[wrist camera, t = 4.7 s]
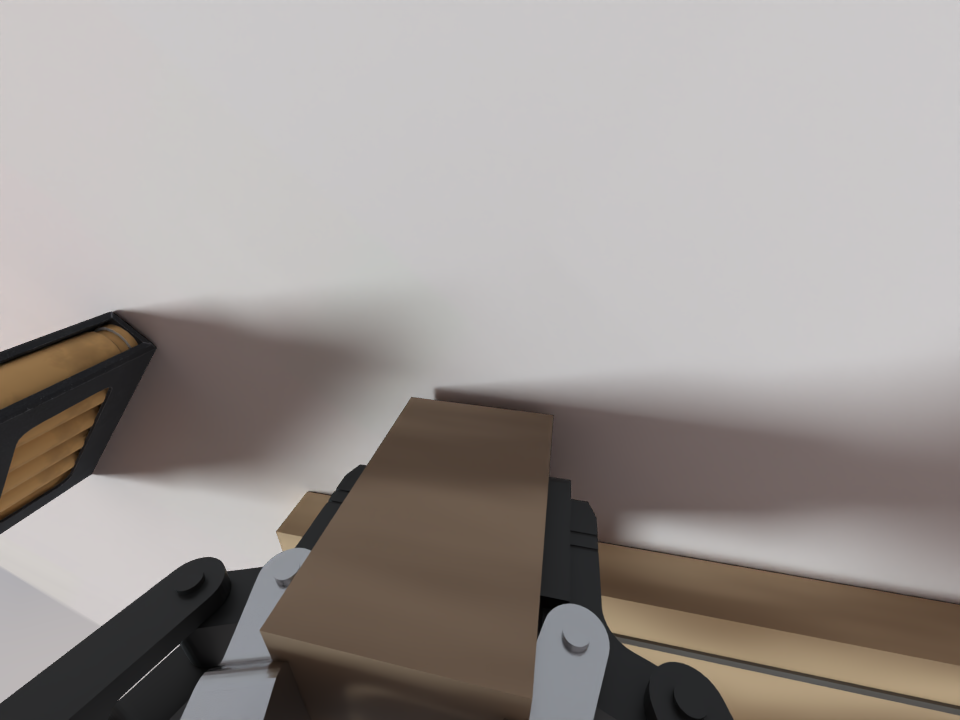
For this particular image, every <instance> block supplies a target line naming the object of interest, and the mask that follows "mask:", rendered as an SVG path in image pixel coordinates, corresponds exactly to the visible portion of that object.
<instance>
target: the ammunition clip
mask: <svg viewBox="0 0 960 720" xmlns="http://www.w3.org/2000/svg"><path fill="white" fill-rule="evenodd" d="M155 350H156V347H155V346H154V345H153V344H152V343H151V342H149V341H148V340H147V339H146V338H144V337H143V336H142V335H140V334H139V333H138V332H137V331H135V330H134V329H133V328H132V327H130V326H129V325H128V324H127V323H125V322H124V321H123V320H122V319H120V318H119V317H118V316H117V315H115V314H114V313H113V312H108V313H105V314H103V315H100V316H97V317H94V318H92V319H89V320H86V321H84V322H81V323H78V324H75V325H73V326H70V327H67V328H64V329H62V330H59V331H56V332H54V333H51V334H48V335H45V336H43V337H40V338H37V339H34V340H32V341H29V342H26V343H24V344H21V345H18V346H15V347H13V348H10V349H7V350H4V351H2V352H0V534H1V533H3V532H4V531H6V530H7V529H9V528H10V527H12V526H13V525H15V524H17V523H18V522H20V521H21V520H23V519H24V518H26V517H27V516H29V515H30V514H32V513H33V512H35V511H36V510H38V509H39V508H41V507H42V506H44V505H45V504H47V503H48V502H50V501H51V500H53V499H54V498H56V497H57V496H59V495H61V494H62V493H64V492H65V491H67V490H68V489H70V488H71V487H73V486H74V485H76V484H77V483H79V482H80V481H82V480H83V479H85V478H86V477H88V476H89V475H91V474H92V472H93V470H94V468H95V466H96V464H97V462H98V460H99V458H100V457H101V455H102V453H103V451H104V449H105V447H106V445H107V443H108V441H109V439H110V437H111V435H112V433H113V431H114V429H115V427H116V426H117V424H118V422H119V420H120V418H121V416H122V414H123V412H124V410H125V408H126V406H127V404H128V402H129V400H130V398H131V397H132V395H133V393H134V391H135V389H136V387H137V385H138V383H139V381H140V379H141V377H142V375H143V373H144V371H145V369H146V367H147V366H148V364H149V362H150V360H151V358H152V356H153V354H154V352H155Z"/></svg>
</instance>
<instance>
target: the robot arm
mask: <svg viewBox="0 0 960 720" xmlns="http://www.w3.org/2000/svg"><path fill="white" fill-rule="evenodd" d="M365 468H366V465H359V466H357V467H356V468H355V469H353V470H352V471H351V472H349V473H348V474H347V475H346V476H345V477H344V478H343V480H342V481H341V483H340V484H339V486H338V487H337V488H336V492H335V491H334V493H333V494H332V496H331V497H330V498H329V501H328V503H326V504H325V506H324V507H323V508H322V510H321V511H320V513H319V514H318V516H317V517H316V518H315V520H314V521H313V523H312V524H311V526H310V527H309V529H308V530H307V531H306V533H305V534H304V536H303V537H302V539H301V540H300V541H299V543H298V544H297V545H296V547H295V548H293V549H289V550H286V551H283V552H281V553H279V554H277V555H276V556H274V557H273V558H272V559H270V560H269V561H268V562H267V563H266V564H265V565H264V567H259V568H251V569H243V570H235V571H226V569H225V566H224V564H223V563H222V562H221V561H220V560H219V559H217V558H213V557H204V558H199V559H195V560H192V561H190V562H188V563H186V564H184V565H182V566H180V567H179V568H177V569H176V570H175V571H173V572H172V573H171V574H169V575H168V576H167V577H165V578H164V579H163V580H161V581H160V582H159V583H158V584H156V585H155V586H154V587H152V588H151V589H150V590H148V591H147V592H146V593H144V594H143V595H142V596H141V597H139V598H138V599H137V600H135V601H134V602H133V603H131V604H130V605H129V606H127V607H126V608H125V609H124V610H122V611H121V612H120V613H118V614H117V615H116V616H114V617H113V618H112V619H110V620H109V621H108V622H106V623H105V624H104V625H103V626H101V627H100V628H99V629H97V630H96V631H95V632H93V633H92V634H91V635H90V636H88V637H87V638H86V639H84V640H83V641H82V642H80V643H79V644H78V645H76V646H75V647H74V648H73V649H71V650H70V651H69V652H67V653H66V654H65V655H64V656H62V657H61V658H59V659H58V660H57V661H56V662H54V663H53V664H52V665H50V666H49V667H48V668H47V669H45V670H44V671H42V672H41V673H40V674H38V675H37V676H36V677H35V678H33V679H32V680H31V681H29V682H28V683H27V684H25V685H24V686H23V687H21V688H20V689H19V690H17V691H16V692H15V693H14V694H12V695H11V696H10V697H8V698H7V699H6V700H4V701H3V702H2V703H0V720H311V717H310V715H309V714H308V712H307V709H306V707H305V704H304V702H303V700H302V697H301V695H300V692H299V689H298V685H297V682H296V680H295V678H294V675H293V673H292V670H291V668H290V665H289V663H288V661H273V660H272V658H271V656H270V654H269V651H268V649H267V647H266V645H265V642H264V640H263V638H262V635H261V633H260V631H259V630H260V629H261V627H262V626H263V624H264V623H265V621H266V619H267V618H268V616H269V615H270V613H271V612H272V610H273V609H274V607H275V606H276V604H277V603H278V601H279V600H280V598H281V596H282V595H283V593H284V592H285V590H286V589H287V587H288V586H289V584H290V583H291V581H292V580H293V578H294V576H295V575H296V573H297V572H298V570H299V569H300V567H301V566H302V564H303V563H304V561H305V560H306V558H307V557H308V555H309V553H310V552H311V550H312V549H313V547H314V546H315V544H316V543H317V541H318V540H319V538H320V537H321V535H322V534H323V532H324V530H325V529H326V527H327V526H328V524H329V523H330V521H331V520H332V518H333V517H334V515H335V514H336V512H337V510H338V509H339V507H340V506H341V504H342V503H343V501H344V500H345V498H346V497H347V495H348V494H349V492H350V491H351V489H352V487H353V486H354V484H355V483H356V481H357V480H358V478H359V477H360V475H361V474H362V472H363V471H364V469H365ZM179 644H180V646H179V647H178V648H176V649H175V650H174V651H173V652H172V653H171V654H170V655H169V656H168V657H167V658H165V659H164V660H163V661H162V662H161V663H160V664H159V665H158V666H157V667H156V668H154V669H153V670H152V671H151V672H150V673H149V674H148V675H147V676H146V677H145V678H143V679H142V680H141V681H140V682H139V683H138V684H137V685H136V686H135V687H134V688H132V689H131V690H130V691H129V692H128V693H127V694H126V695H125V696H124V697H122V696H123V695H124V694H125V693H126V692H127V691H128V690H129V689H130V688H131V687H132V686H133V685H135V683H137V682H138V681H139V680H140V679H141V678H142V677H143V676H145V674H147V673H148V672H149V671H150V670H151V669H152V668H153V667H154V666H155V665H157V664H158V663H159V662H160V661H161V660H162V659H163V658H164V657H166V656H167V655H168V654H169V653H170V652H171V651H172V650H173V649H174V648H175V647H177V646H178V645H179ZM121 697H122V698H121ZM120 698H121V699H120ZM119 699H120V700H119ZM118 700H119V701H118ZM503 720H508V719H506V718H504V719H503ZM529 720H734V719H733V717H732V715H731V713H730V711H729V709H728V707H727V706H726V704H725V702H724V700H723V698H722V696H721V695H720V693H719V691H718V690H717V689H716V687H715V686H714V685H713V684H712V683H711V682H710V680H709V679H708V678H707V677H705V676H704V675H703V674H702V673H701V672H699V671H698V670H696V669H695V668H693V667H691V666H689V665H686V664H684V663H680V662H666V663H663V664H661V665H659V666H657V665H655V664H653V663H651V662H650V661H648V660H646V659H645V658H643V657H641V656H639V655H638V654H636V653H634V652H632V651H631V650H629V649H628V648H626V647H625V646H624V645H623V644H622V643H620V641H619V640H618V639H617V638H616V637H615V636H614V635H613V633H612V632H611V631H610V629H609V627H608V625H607V623H606V621H605V619H604V615H603V611H602V599H601V583H600V567H599V553H598V539H597V519H596V516H595V514H594V512H593V511H592V509H591V507H590V505H589V503H588V502H585V501H579V500H573V499H571V480H567V479H560V478H554V477H549V482H548V495H547V508H546V522H545V535H544V549H543V562H542V576H541V589H540V603H539V616H538V629H537V643H536V656H535V670H534V683H533V697H532V705H531V711H530V718H529Z"/></svg>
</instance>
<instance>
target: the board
mask: <svg viewBox="0 0 960 720" xmlns="http://www.w3.org/2000/svg"><path fill="white" fill-rule="evenodd" d="M330 497H331V496H330V495H324V494H318V493H312V492H307V493H306V494H305V495H304V496H303V498H302V499H301V500H300V502H299V503H298V504H297V505H296V507H295V508H294V509H293V511H292V512H291V513H290V514H289V516H288V517H287V518H286V520H285V521H284V522H283V523H282V525H281V526H280V527H279V529H278V530H277V531H276V533H277V536H278V539H279V542H280V545H281V548H282V551H286V550H289V549H293V548H295V547H296V545H297V544H298V543H299V541H300V540H301V539H302V537H303V536H304V534H305V533H306V531H307V530H308V529H309V527H310V526H311V524H312V523H313V521H314V520H315V518H316V517H317V516H318V514H319V513H320V511H321V510H322V508H323V507H324V506H325V504H326V503H328V501H329V498H330ZM598 553H599V567H600V583H601V599H602V611H603V615H604V619H605V621H606V623H607V625H608V627H609V629H610V631H611V632H612V633H613V635H614V636H615V637H616V638H617V639H618V640H619V641H620V643H622V644H623V645H624V646H625V647H626V648H628V649H629V650H631V651H632V652H634V653H636V654H638V655H639V656H641V657H643V658H645V659H646V660H648V661H650V662H651V663H653V664H655V665H657V666H659V665H661V664H663V663H666V662H680V663H684V664H686V665H689V666H691V667H693V668H695V669H696V670H698V671H699V672H701V673H702V674H703V675H704V676H705V677H707V678H708V679H709V680H710V682H711V683H712V684H713V685H714V686H715V687H716V689H717V690H718V691H719V693H720V695H721V696H722V698H723V700H724V702H725V704H726V706H727V707H728V709H729V711H730V713H731V715H732V717H733V719H734V720H960V605H958V604H952V603H946V602H940V601H935V600H929V599H923V598H917V597H912V596H906V595H900V594H894V593H889V592H883V591H877V590H871V589H866V588H860V587H854V586H848V585H842V584H837V583H831V582H825V581H819V580H814V579H808V578H802V577H796V576H791V575H785V574H779V573H773V572H768V571H762V570H756V569H750V568H744V567H739V566H733V565H727V564H721V563H716V562H710V561H704V560H698V559H693V558H687V557H681V556H675V555H670V554H664V553H658V552H652V551H647V550H641V549H635V548H629V547H623V546H618V545H612V544H606V543H600V542H598Z"/></svg>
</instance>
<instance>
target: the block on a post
mask: <svg viewBox="0 0 960 720" xmlns="http://www.w3.org/2000/svg"><path fill="white" fill-rule="evenodd" d="M552 428H553V415H548V414H540V413H532V412H524V411H517V410H509V409H501V408H493V407H485V406H477V405H469V404H462V403H454V402H446V401H438V400H430V399H422V398H414V397H411V398H410V400H409V402H408V403H407V405H406V406H405V408H404V409H403V411H402V412H401V414H400V415H399V417H398V418H397V420H396V421H395V423H394V425H393V426H392V428H391V429H390V431H389V432H388V434H387V435H386V437H385V438H384V440H383V441H382V443H381V444H380V446H379V448H378V449H377V451H376V452H375V454H374V455H373V457H372V458H371V460H370V461H369V463H368V464H367V466H366V468H365V469H364V471H363V472H362V474H361V475H360V477H359V478H358V480H357V481H356V483H355V484H354V486H353V487H352V489H351V491H350V492H349V494H348V495H347V497H346V498H345V500H344V501H343V503H342V504H341V506H340V507H339V509H338V510H337V512H336V514H335V515H334V517H333V518H332V520H331V521H330V523H329V524H328V526H327V527H326V529H325V530H324V532H323V534H322V535H321V537H320V538H319V540H318V541H317V543H316V544H315V546H314V547H313V549H312V550H311V552H310V553H309V555H308V557H307V558H306V560H305V561H304V563H303V564H302V566H301V567H300V569H299V570H298V572H297V573H296V575H295V576H294V578H293V580H292V581H291V583H290V584H289V586H288V587H287V589H286V590H285V592H284V593H283V595H282V596H281V598H280V600H279V601H278V603H277V604H276V606H275V607H274V609H273V610H272V612H271V613H270V615H269V616H268V618H267V619H266V621H265V623H264V624H263V626H262V627H261V629H260V630H259V631H260V633H261V635H262V638H263V640H264V642H265V645H266V647H267V649H268V651H269V654H270V656H271V658H272V660H273V661H288V663H289V665H290V668H291V670H292V673H293V675H294V678H295V680H296V682H297V685H298V689H299V692H300V695H301V697H302V700H303V702H304V704H305V707H306V709H307V712H308V714H309V715H310V717H311V720H503V719H504V718H506V719H508V720H529V718H530V711H531V705H532V697H533V683H534V670H535V656H536V643H537V629H538V616H539V603H540V589H541V576H542V562H543V549H544V535H545V522H546V508H547V495H548V482H549V468H550V455H551V441H552Z"/></svg>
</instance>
